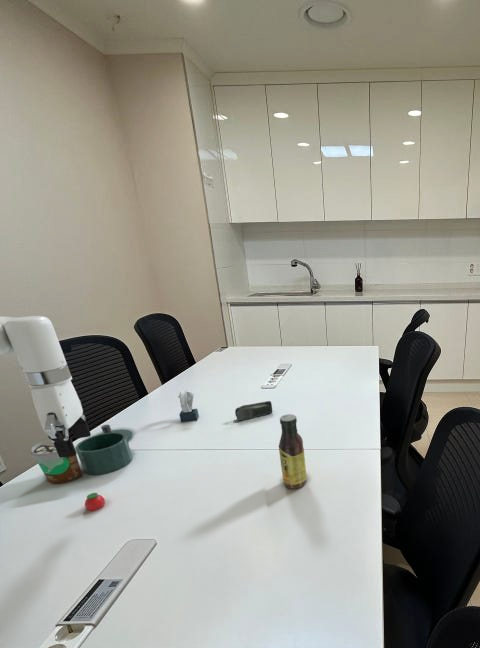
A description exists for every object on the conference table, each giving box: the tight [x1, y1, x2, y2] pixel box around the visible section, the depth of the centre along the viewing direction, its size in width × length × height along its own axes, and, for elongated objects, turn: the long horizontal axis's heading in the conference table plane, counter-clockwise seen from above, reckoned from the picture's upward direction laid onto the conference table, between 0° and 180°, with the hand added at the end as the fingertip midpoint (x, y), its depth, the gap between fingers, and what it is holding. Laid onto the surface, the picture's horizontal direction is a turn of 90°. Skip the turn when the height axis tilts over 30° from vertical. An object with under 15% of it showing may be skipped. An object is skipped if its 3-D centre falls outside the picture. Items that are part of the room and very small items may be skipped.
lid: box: [97, 424, 133, 442], centre depth 129 cm, size 13×13×6 cm
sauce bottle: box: [278, 413, 307, 489], centre depth 100 cm, size 7×6×20 cm
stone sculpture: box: [177, 390, 200, 423], centre depth 143 cm, size 6×8×11 cm
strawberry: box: [84, 492, 106, 512], centre depth 95 cm, size 4×4×4 cm
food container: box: [30, 441, 83, 485], centre depth 106 cm, size 12×6×10 cm, turn 76°
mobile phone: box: [232, 400, 273, 423], centre depth 145 cm, size 5×3×15 cm
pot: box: [74, 432, 133, 476], centre depth 115 cm, size 12×12×8 cm
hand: (76, 446), depth 90 cm, fingers open, 9 cm apart
